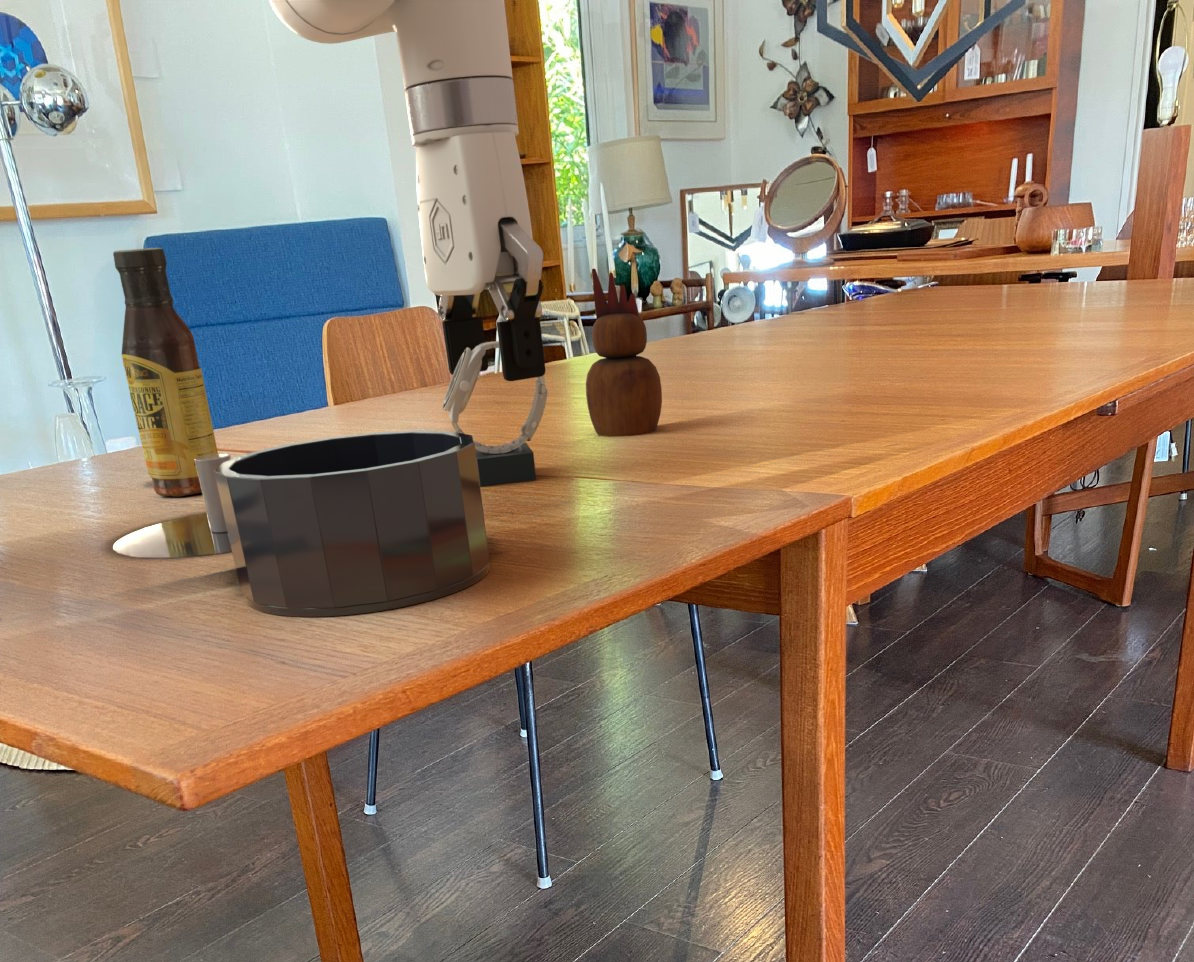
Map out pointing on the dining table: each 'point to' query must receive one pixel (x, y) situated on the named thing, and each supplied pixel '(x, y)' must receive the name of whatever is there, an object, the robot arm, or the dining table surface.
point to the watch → (500, 460)
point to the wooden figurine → (621, 368)
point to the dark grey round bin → (355, 522)
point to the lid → (185, 525)
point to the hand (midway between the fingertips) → (496, 375)
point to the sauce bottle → (163, 375)
